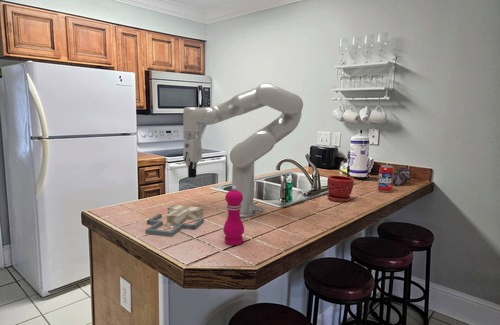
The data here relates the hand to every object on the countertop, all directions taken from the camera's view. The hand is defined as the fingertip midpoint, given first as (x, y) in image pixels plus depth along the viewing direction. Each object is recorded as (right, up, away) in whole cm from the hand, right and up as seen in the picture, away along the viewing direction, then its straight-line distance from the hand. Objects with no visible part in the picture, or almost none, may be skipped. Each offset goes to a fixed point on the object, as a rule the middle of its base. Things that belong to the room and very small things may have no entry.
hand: (192, 176), depth 146 cm
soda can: (+105, -11, +47) cm, 115 cm away
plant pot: (+73, -13, +27) cm, 79 cm away
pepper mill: (+20, -21, -31) cm, 43 cm away
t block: (-3, -17, -10) cm, 20 cm away
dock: (-5, -19, -18) cm, 26 cm away
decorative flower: (+122, -8, +67) cm, 139 cm away
